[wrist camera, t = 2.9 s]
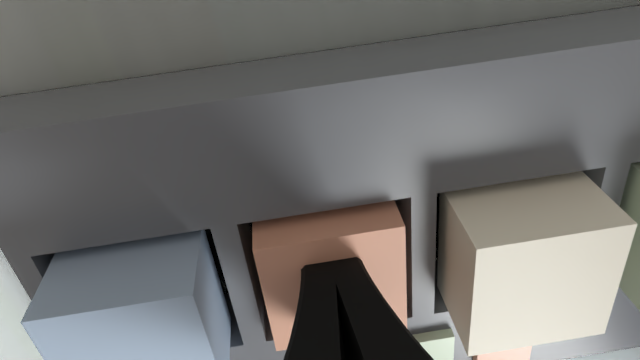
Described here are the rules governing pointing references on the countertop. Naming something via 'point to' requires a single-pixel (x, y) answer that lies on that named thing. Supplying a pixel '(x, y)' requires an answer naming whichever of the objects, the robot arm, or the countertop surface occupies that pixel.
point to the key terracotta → (328, 256)
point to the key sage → (636, 203)
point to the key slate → (132, 303)
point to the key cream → (530, 261)
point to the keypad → (327, 154)
